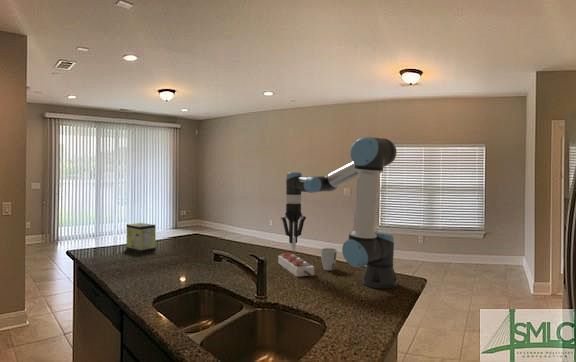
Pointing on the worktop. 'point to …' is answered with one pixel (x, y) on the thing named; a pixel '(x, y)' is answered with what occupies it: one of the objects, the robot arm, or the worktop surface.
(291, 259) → the plate
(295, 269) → the power strip
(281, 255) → the block
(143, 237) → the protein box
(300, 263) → the rocker
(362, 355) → the worktop surface
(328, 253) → the cup
